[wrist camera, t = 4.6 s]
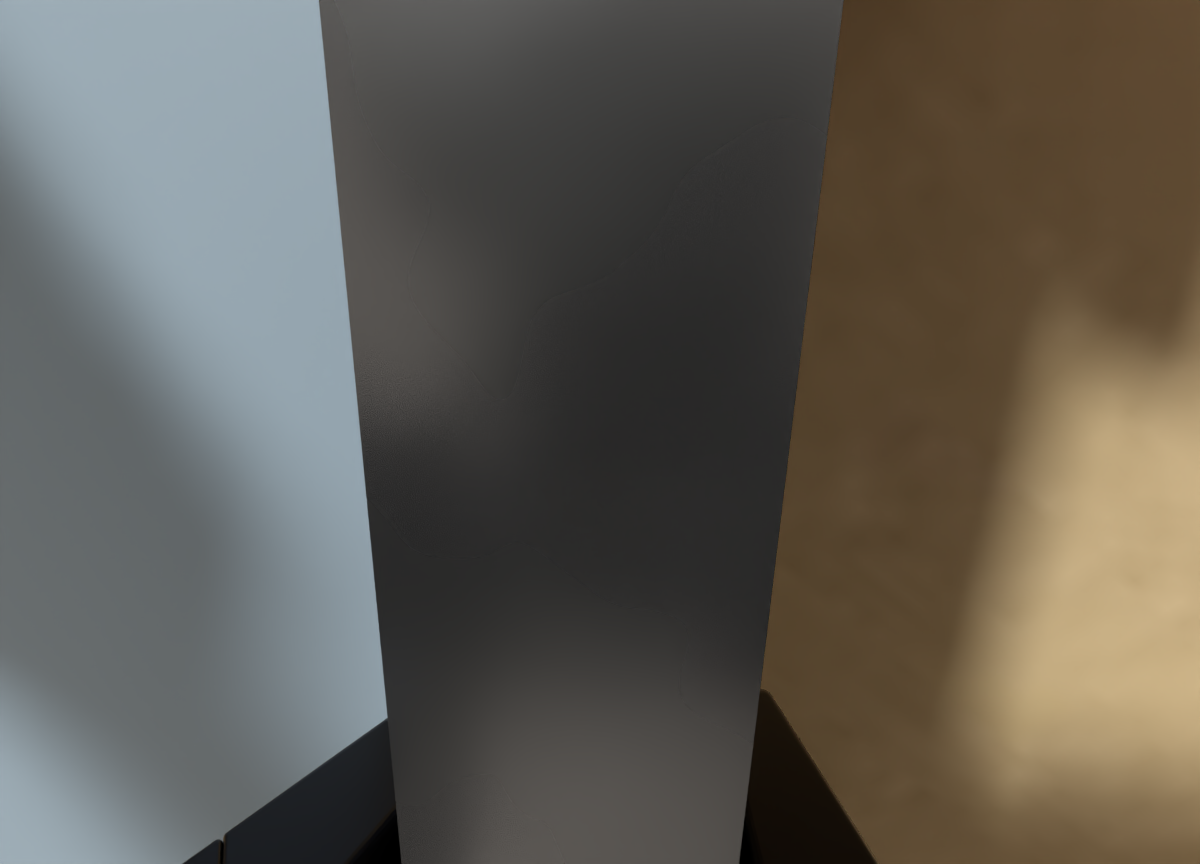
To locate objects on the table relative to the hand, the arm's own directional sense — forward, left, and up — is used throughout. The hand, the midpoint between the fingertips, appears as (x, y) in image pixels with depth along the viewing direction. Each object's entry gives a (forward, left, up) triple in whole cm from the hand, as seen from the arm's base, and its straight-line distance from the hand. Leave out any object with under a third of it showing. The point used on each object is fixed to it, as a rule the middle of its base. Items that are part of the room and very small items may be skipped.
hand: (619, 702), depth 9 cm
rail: (0, +1, +1) cm, 1 cm away
